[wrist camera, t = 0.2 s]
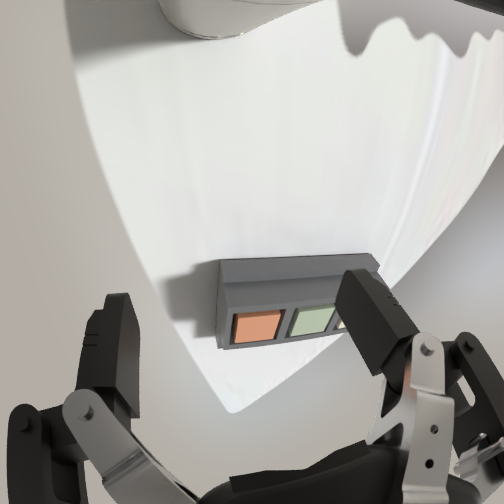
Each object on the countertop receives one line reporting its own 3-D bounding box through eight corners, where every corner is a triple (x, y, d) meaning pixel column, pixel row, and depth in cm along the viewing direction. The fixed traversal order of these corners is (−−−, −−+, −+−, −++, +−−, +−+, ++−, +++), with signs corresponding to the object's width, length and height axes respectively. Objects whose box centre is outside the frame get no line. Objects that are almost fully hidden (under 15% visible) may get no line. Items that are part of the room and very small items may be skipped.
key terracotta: (235, 304, 30) (238, 318, 28) (275, 300, 31) (280, 314, 29) (231, 329, 32) (234, 343, 31) (268, 325, 34) (273, 338, 32)
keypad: (219, 260, 31) (228, 300, 26) (370, 253, 36) (393, 283, 32) (215, 334, 39) (221, 369, 35) (338, 319, 45) (353, 347, 40)
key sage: (293, 298, 31) (299, 312, 30) (328, 295, 33) (335, 307, 31) (285, 323, 34) (290, 336, 33) (317, 319, 35) (323, 331, 34)
